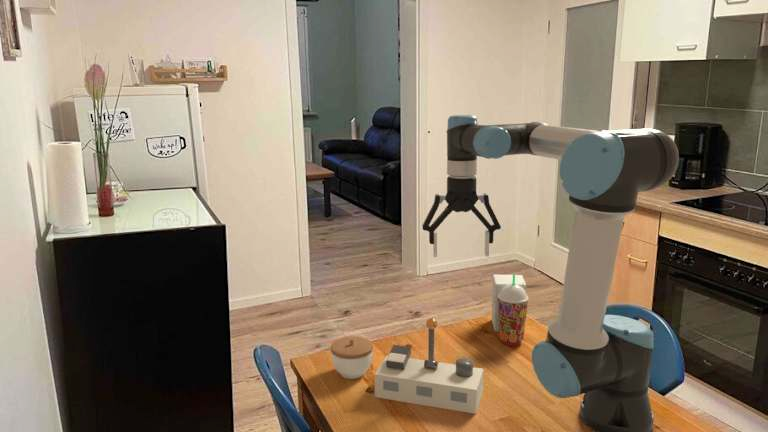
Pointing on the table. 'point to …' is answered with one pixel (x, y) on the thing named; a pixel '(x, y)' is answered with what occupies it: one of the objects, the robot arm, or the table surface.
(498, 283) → the supplement box
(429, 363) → the lever
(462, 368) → the button
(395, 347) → the block
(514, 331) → the smoothie
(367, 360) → the lidded jar
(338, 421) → the table surface
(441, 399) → the console
